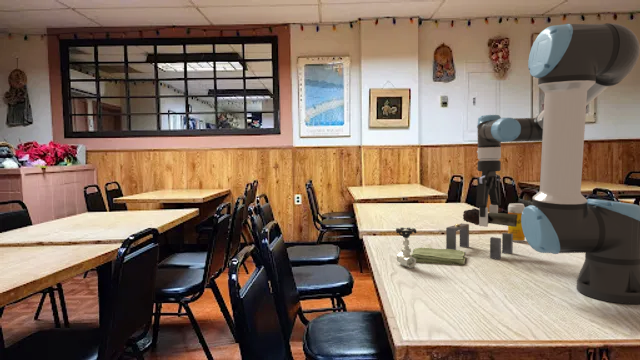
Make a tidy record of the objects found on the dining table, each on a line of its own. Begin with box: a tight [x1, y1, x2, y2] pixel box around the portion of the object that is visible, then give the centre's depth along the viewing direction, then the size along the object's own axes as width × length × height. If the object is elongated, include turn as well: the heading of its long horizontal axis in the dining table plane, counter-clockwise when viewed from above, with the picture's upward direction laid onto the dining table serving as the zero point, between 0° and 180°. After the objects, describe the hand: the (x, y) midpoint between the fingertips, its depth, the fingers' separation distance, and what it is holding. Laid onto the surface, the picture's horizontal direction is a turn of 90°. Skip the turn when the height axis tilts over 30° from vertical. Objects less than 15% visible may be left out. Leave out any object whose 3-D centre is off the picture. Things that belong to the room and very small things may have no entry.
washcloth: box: [410, 247, 466, 266], centre depth 137 cm, size 13×18×3 cm
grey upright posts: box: [445, 223, 514, 261], centre depth 145 cm, size 12×19×9 cm, turn 45°
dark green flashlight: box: [462, 207, 517, 227], centre depth 142 cm, size 18×7×6 cm, turn 59°
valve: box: [395, 227, 417, 269], centre depth 129 cm, size 7×7×12 cm
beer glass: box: [507, 202, 526, 243], centre depth 163 cm, size 6×6×15 cm
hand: (488, 224), depth 143 cm, fingers closed on dark green flashlight, 8 cm apart
